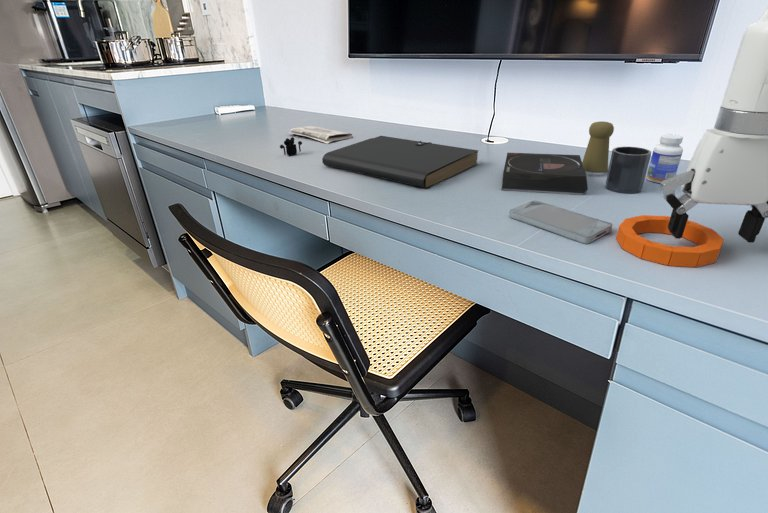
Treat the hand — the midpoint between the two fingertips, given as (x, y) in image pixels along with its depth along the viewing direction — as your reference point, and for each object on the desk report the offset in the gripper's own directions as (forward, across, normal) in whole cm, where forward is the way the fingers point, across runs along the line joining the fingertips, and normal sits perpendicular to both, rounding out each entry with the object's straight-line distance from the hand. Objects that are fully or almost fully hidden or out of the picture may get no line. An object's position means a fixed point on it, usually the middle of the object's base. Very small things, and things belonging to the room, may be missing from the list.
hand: (709, 236), depth 67 cm
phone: (+2, +21, -7) cm, 22 cm away
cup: (+2, +5, -28) cm, 29 cm away
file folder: (+2, +56, -42) cm, 69 cm away
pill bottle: (+2, -4, -34) cm, 34 cm away
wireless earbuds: (+3, +90, -51) cm, 103 cm away
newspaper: (+3, +89, -75) cm, 117 cm away
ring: (+2, +6, 0) cm, 6 cm away
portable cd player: (+2, +21, -32) cm, 38 cm away
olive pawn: (+2, +8, -42) cm, 43 cm away
